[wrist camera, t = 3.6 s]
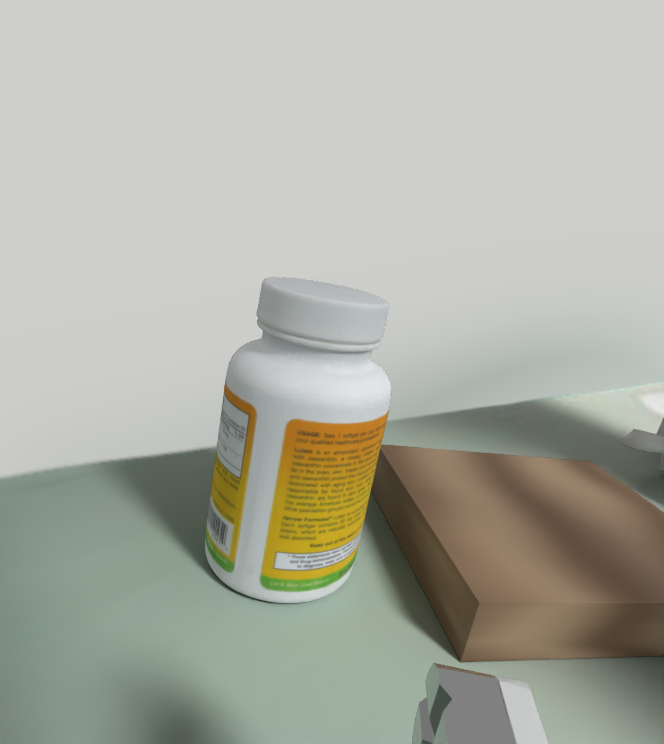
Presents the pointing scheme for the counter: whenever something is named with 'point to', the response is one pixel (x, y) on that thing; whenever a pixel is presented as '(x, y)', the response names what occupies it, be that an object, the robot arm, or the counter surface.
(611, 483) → the walnut base
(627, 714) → the counter surface
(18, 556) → the counter surface
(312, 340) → the supplement bottle
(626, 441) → the bunny figurine
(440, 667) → the robot arm
